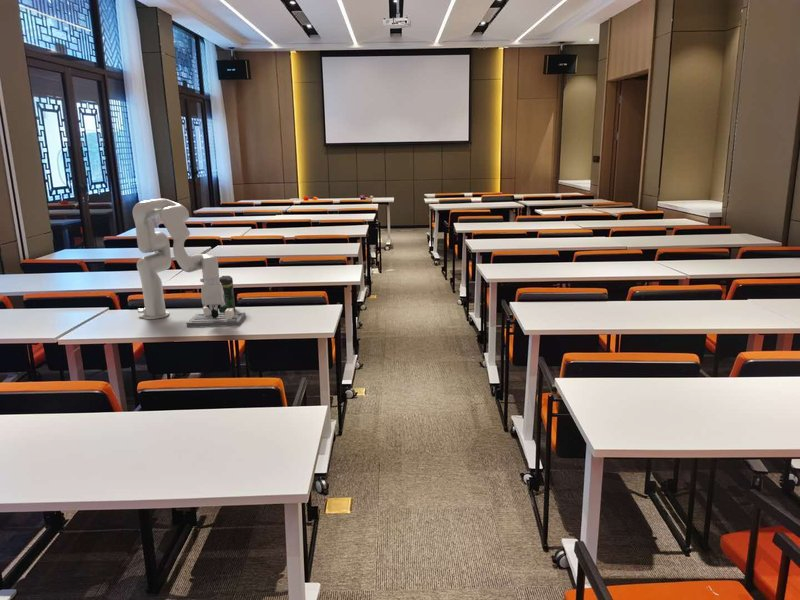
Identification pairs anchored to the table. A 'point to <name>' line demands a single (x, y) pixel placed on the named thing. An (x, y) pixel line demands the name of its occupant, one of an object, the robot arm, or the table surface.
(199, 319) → the console
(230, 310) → the fader cap
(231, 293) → the coffee jar
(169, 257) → the robot arm
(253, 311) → the table surface
